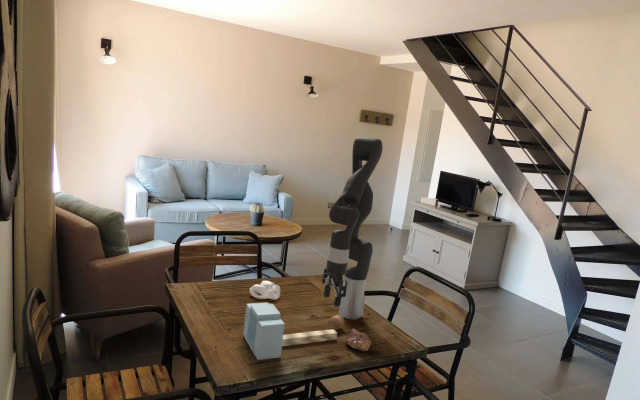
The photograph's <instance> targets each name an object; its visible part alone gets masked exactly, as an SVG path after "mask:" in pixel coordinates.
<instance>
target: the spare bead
mask: <svg viewBox="0 0 640 400" xmlns="http://www.w3.org/2000/svg"><path fill="white" fill-rule="evenodd" d="M327 324H328V327H329V329H334V330H335V331H337V330H339V329H341V328H343V327H344V325H345V318H344V317H342V316H341V315H339V314H335V315H334V316H332V317H330V318H329V319H328V320H327Z"/></svg>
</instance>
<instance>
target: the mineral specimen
mask: <svg viewBox="0 0 640 400" xmlns="http://www.w3.org/2000/svg"><path fill="white" fill-rule="evenodd" d="M369 336H370V335H368V333H364V332H361V331H359V330H357V329H356V328H352V329H351V330H350V333H349V335H348V337H347V339H346V340H345V343H346V345H348V346H350V347H351V348H352V349H355V350H357V351H361V352H367V351H369V349H370V347H371V345H372V341H371V340H370V337H369Z"/></svg>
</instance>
